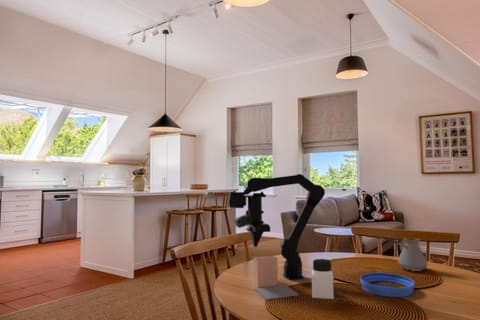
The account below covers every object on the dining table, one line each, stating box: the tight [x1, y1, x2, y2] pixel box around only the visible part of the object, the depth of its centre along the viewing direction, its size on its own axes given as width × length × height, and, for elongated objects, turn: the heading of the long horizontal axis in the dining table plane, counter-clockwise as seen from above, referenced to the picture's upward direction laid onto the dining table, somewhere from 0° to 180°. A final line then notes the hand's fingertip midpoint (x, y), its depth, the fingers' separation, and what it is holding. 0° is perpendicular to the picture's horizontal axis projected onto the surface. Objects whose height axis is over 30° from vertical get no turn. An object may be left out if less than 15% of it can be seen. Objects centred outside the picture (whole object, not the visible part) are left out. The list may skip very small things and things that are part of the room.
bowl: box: [359, 272, 416, 298], centre depth 124 cm, size 18×18×4 cm
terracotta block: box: [253, 255, 279, 288], centre depth 130 cm, size 8×4×10 cm, turn 108°
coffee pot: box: [378, 235, 428, 270], centre depth 147 cm, size 21×12×15 cm, turn 104°
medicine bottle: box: [311, 258, 335, 300], centre depth 118 cm, size 7×7×12 cm
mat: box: [254, 284, 300, 301], centre depth 121 cm, size 12×11×1 cm
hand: (255, 246), depth 141 cm, fingers closed
